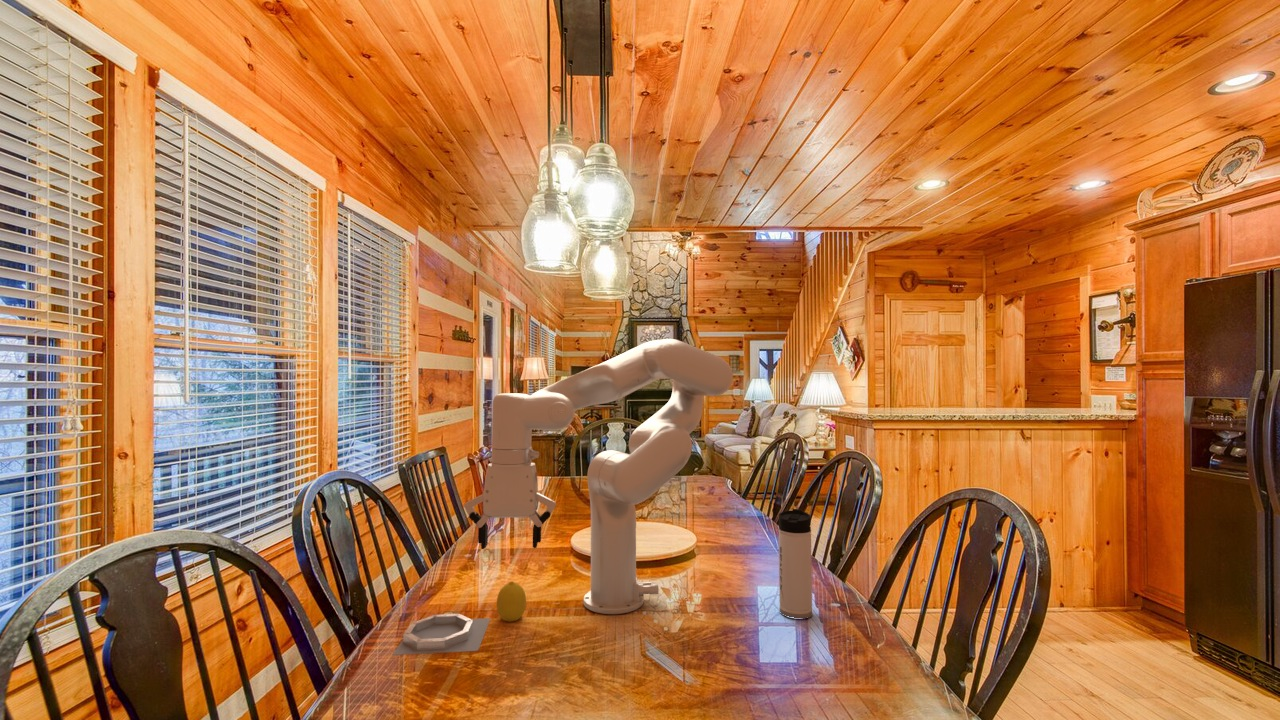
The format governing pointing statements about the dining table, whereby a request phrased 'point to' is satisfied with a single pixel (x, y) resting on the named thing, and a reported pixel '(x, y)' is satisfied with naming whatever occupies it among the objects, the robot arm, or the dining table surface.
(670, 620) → the dining table surface
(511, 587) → the lemon
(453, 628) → the board
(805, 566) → the travel mug
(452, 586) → the dining table surface
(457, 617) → the ring
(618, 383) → the robot arm
